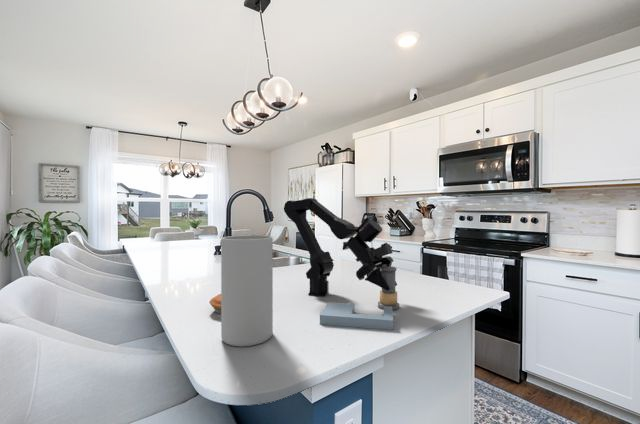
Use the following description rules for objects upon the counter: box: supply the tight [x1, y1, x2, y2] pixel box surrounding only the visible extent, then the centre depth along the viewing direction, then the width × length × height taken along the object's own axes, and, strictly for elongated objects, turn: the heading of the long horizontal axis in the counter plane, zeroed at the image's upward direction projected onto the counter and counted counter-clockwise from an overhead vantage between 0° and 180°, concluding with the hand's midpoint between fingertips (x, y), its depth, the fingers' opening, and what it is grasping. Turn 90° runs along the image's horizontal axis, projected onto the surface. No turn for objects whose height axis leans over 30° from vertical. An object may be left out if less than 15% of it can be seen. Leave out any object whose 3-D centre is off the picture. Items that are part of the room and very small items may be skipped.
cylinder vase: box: [220, 234, 274, 347], centre depth 75 cm, size 12×12×25 cm
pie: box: [209, 293, 221, 316], centre depth 95 cm, size 16×16×5 cm
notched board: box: [319, 301, 394, 331], centre depth 87 cm, size 20×12×2 cm, turn 78°
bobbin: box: [377, 265, 400, 312], centre depth 98 cm, size 7×7×13 cm
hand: (392, 287), depth 97 cm, fingers open, 6 cm apart
